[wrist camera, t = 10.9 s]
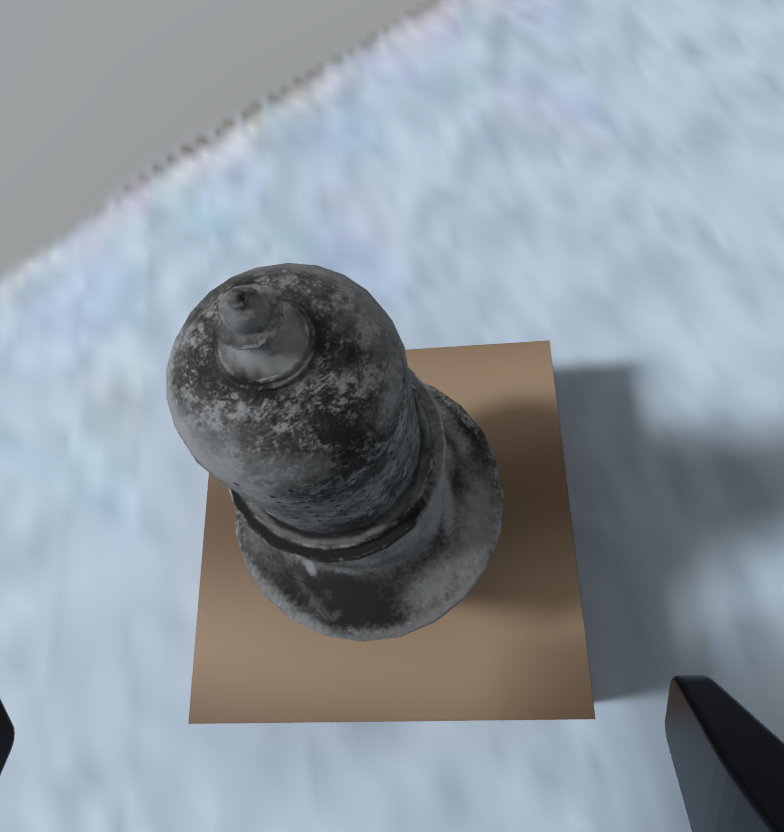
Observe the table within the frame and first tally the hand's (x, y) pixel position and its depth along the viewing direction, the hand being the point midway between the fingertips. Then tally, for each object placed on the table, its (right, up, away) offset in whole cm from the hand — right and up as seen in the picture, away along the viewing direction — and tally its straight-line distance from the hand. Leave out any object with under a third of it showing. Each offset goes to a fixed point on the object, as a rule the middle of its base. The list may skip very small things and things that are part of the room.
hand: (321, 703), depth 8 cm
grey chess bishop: (+1, +1, +9) cm, 9 cm away
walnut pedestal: (+1, 0, +11) cm, 11 cm away
